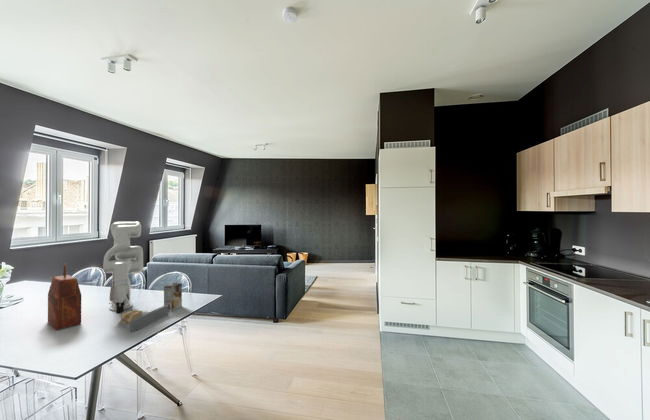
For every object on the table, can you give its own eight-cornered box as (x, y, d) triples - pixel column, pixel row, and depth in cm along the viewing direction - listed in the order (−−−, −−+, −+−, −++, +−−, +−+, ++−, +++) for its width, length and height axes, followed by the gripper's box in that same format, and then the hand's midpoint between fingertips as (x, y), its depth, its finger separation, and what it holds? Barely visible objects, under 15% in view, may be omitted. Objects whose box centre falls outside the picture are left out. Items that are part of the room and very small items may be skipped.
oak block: (121, 322, 152) (121, 314, 152) (132, 318, 159) (132, 310, 159) (131, 324, 151) (131, 315, 151) (141, 319, 158) (142, 311, 158)
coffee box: (174, 305, 180) (174, 282, 180) (182, 306, 179) (182, 283, 179) (163, 310, 171) (163, 286, 171) (171, 311, 170) (171, 287, 170)
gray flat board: (130, 331, 141) (130, 320, 141) (165, 314, 165) (165, 305, 165) (133, 332, 141) (133, 321, 141) (167, 314, 164) (167, 305, 164)
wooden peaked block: (71, 316, 160) (72, 260, 161) (81, 324, 150) (81, 263, 150) (47, 322, 152) (48, 263, 152) (55, 331, 141) (56, 267, 141)
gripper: (104, 283, 154) (103, 314, 154) (124, 284, 152) (124, 316, 151) (116, 280, 162) (115, 309, 162) (136, 281, 159) (136, 311, 159)
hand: (120, 312), depth 157 cm, fingers closed
